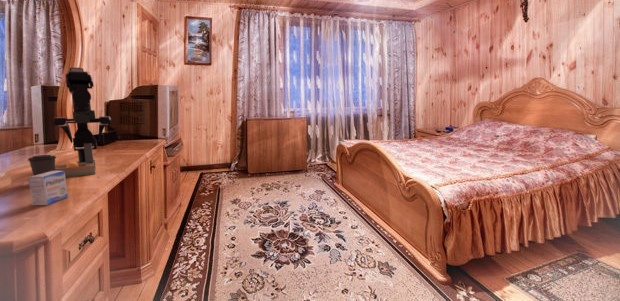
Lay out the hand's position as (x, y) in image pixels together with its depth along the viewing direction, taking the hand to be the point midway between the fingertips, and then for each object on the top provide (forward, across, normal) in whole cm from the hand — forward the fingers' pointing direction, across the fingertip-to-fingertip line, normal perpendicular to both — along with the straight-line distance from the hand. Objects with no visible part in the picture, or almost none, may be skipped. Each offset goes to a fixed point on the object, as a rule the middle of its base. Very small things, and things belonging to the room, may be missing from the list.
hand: (85, 141), depth 128 cm
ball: (+10, -5, 0) cm, 11 cm away
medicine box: (+12, -8, -38) cm, 41 cm away
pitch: (+13, -6, 0) cm, 14 cm away
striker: (+11, 0, 0) cm, 12 cm away
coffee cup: (+13, -13, -10) cm, 21 cm away
